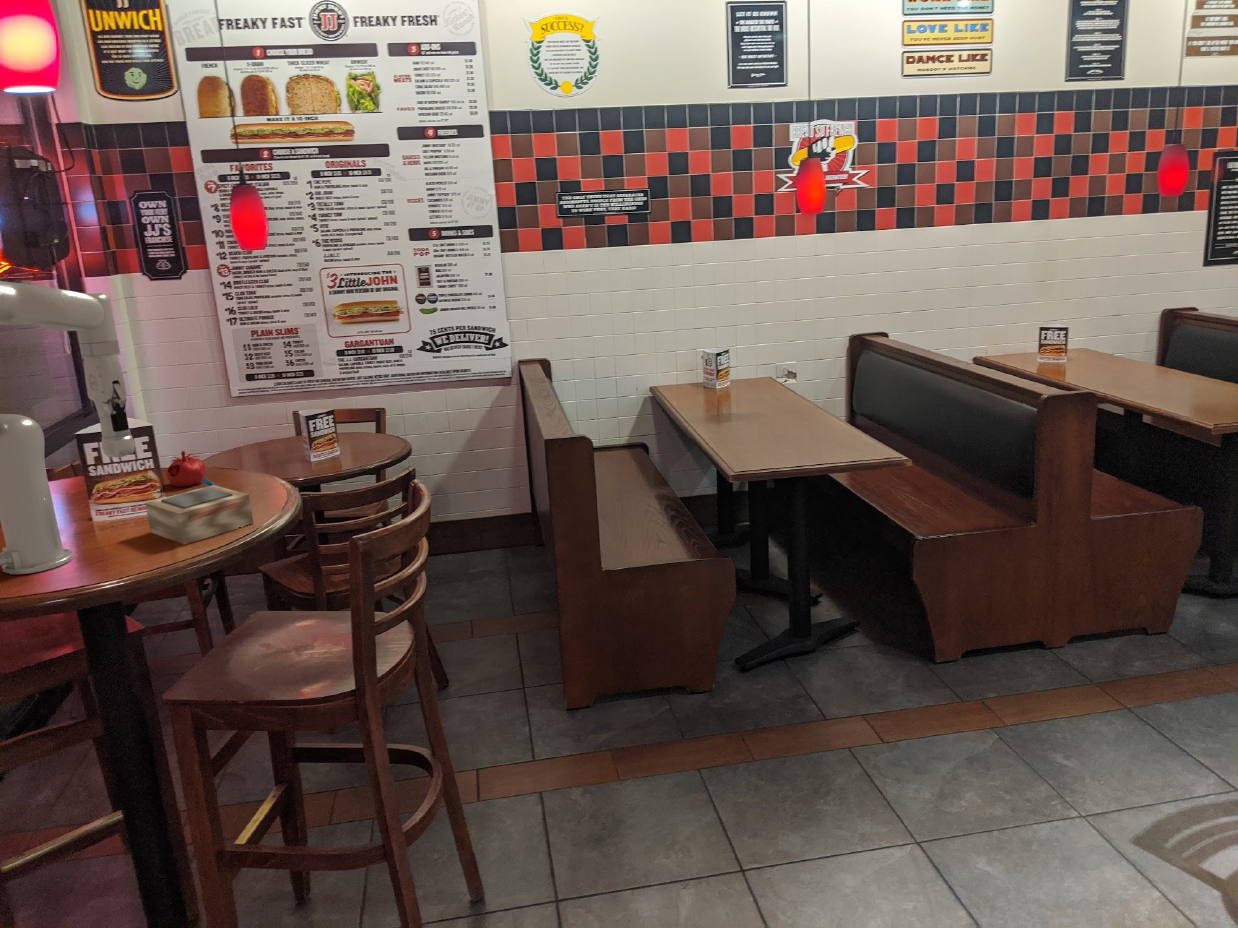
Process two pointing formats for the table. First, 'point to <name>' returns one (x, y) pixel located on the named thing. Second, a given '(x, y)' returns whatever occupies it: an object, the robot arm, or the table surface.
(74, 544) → the table surface
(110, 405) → the robot arm
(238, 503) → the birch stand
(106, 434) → the plastic bottle
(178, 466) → the pomegranate
